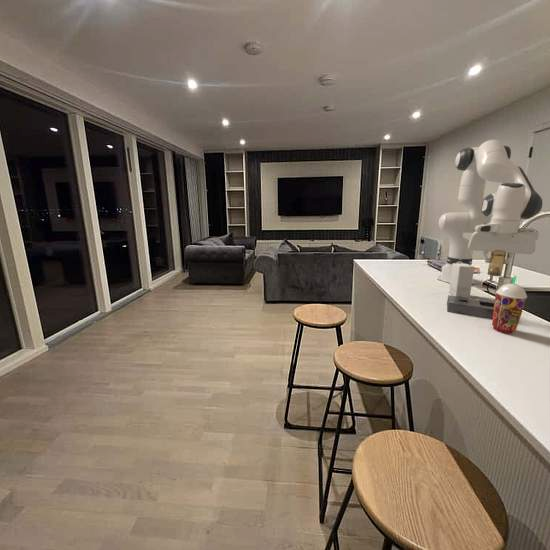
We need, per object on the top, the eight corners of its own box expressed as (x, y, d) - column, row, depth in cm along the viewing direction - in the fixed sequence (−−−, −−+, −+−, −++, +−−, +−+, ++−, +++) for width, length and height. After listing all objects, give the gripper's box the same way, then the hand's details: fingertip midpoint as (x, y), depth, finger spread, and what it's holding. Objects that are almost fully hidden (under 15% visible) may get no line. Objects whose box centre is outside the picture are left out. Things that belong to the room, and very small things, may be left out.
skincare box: (469, 299, 132) (475, 266, 128) (454, 298, 134) (459, 266, 130) (462, 293, 140) (467, 263, 136) (447, 292, 142) (452, 262, 138)
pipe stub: (486, 272, 114) (491, 248, 111) (500, 274, 112) (505, 249, 109) (487, 275, 110) (492, 250, 107) (502, 276, 108) (508, 251, 105)
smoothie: (510, 337, 95) (524, 280, 90) (483, 328, 102) (494, 274, 97) (523, 332, 98) (536, 277, 93) (496, 323, 106) (507, 272, 100)
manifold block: (446, 303, 126) (448, 295, 125) (502, 312, 117) (504, 302, 116) (447, 311, 117) (448, 302, 116) (507, 321, 107) (510, 311, 106)
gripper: (537, 228, 104) (529, 264, 107) (471, 226, 114) (465, 259, 117) (542, 229, 99) (533, 267, 102) (472, 227, 108) (466, 262, 112)
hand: (496, 263), depth 110 cm, fingers closed on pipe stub, 4 cm apart
